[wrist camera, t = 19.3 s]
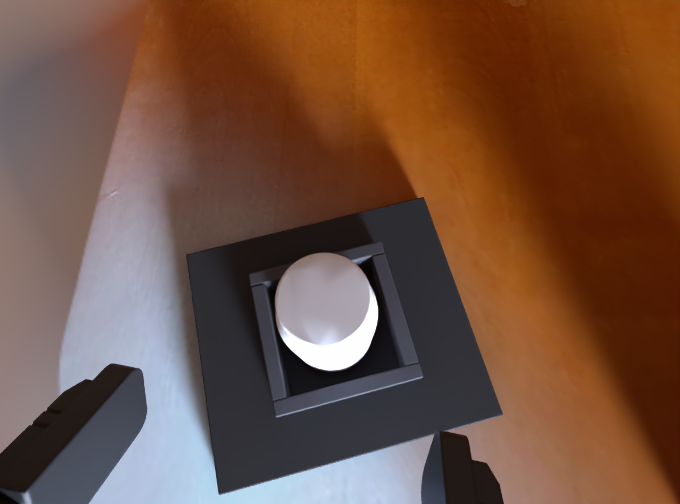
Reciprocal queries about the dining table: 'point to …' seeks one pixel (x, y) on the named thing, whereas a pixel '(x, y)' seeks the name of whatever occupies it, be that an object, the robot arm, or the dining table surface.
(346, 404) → the pad
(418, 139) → the dining table surface
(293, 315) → the pill bottle
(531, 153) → the dining table surface
